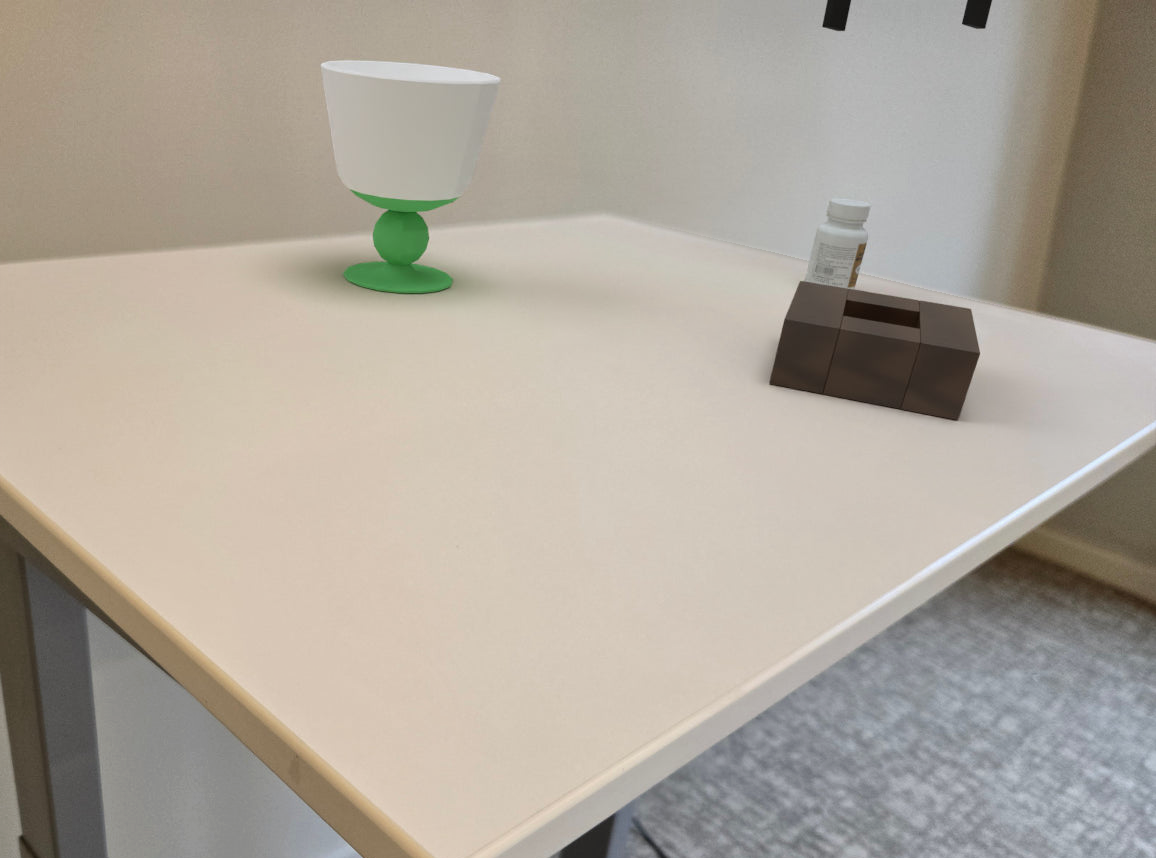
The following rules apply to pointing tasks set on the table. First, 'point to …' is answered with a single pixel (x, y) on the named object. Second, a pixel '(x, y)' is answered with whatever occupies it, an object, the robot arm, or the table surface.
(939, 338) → the holder
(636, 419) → the table surface
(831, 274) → the pill bottle
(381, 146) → the cup
